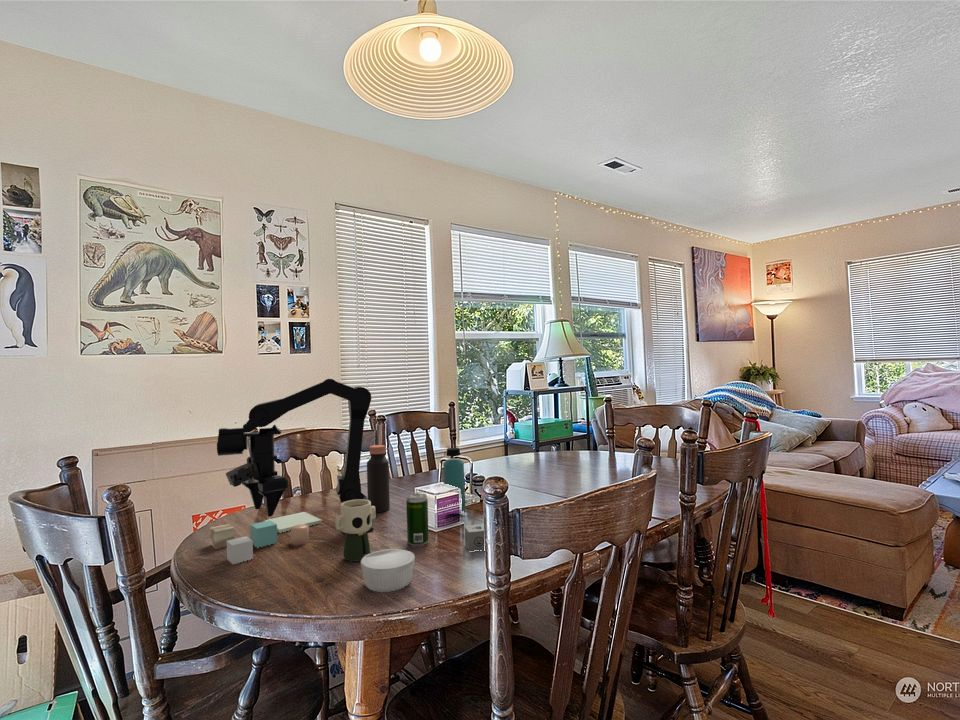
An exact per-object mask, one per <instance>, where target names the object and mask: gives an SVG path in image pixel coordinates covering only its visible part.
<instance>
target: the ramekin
mask: <svg viewBox="0 0 960 720" xmlns="http://www.w3.org/2000/svg"><path fill="white" fill-rule="evenodd" d="M415 562H416V556H415V554H414V553H413V552H412V551H410V550H409V551H408V550H406V549H397V548H396V549H395V548H391V549H381V550H377V551H373V552H370V554H368V555H366V554H365V555H364V556H363V558H362V560H360V568H361V569H362V576H363V582H364V585H365V587H366V588H367V589H369V590H370V591H372V590H373V591H372V592H375V591H377V592H378V593H392V592H391V591H393V592H396V591H395V590H397V591H400V590H402V589H404V588H406V587H407V586H409V584H410V583H411V582H412V580H413V574H414V564H415ZM405 586H406V587H405ZM401 588H402V589H401ZM399 589H400V590H399ZM377 592H376V593H377Z"/></svg>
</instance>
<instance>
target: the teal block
mask: <svg viewBox="0 0 960 720" xmlns="http://www.w3.org/2000/svg"><path fill="white" fill-rule="evenodd" d="M268 520H269V519H268ZM249 528H250V530H249V531H250V539H251V540H252V541H253V545H254V546H253V547H255V548H256V547H257V548H256V549H260V548H259V547H261V548H263V547H262V546H265V547H267V546H266V545H269V546H272V545H271V544H273V545H276V544H275V543H277V544H278V532H277V524H276V523H274V522H272V521H270V520H269V521H265V522H264V521H260V522H255V523H250V527H249Z"/></svg>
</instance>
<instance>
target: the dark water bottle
mask: <svg viewBox="0 0 960 720" xmlns="http://www.w3.org/2000/svg"><path fill="white" fill-rule="evenodd" d="M385 455H386V445H385V444H373V445H370V446H369V456H370V458H369V459H368V461H367V462H366V483H367V485H366V486H367V492H366V493H367V499H368V500H369V501H371V506H375V509H376V513H383V512H386V511H388V510H390V508H391V507H390V505H391V502H390V501H391V500H390V467H389V466H390V465H389V463H390V462H389V460H388V459H387V458H386V457H385Z"/></svg>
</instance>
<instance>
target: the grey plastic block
mask: <svg viewBox="0 0 960 720" xmlns="http://www.w3.org/2000/svg"><path fill="white" fill-rule="evenodd" d="M251 559H252V560H254V546H253V541H252V540H251V537H250V538H249V536H247V535H245V536H242V537H241V536H240V537H236V538H234V539H232V540H228V541H227V547H226V560H227V561H228V562H229V563H230V564H231V565H236V564H240V562H241V563H244V562H248V561H251ZM247 560H248V561H247ZM243 561H244V562H243Z"/></svg>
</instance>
